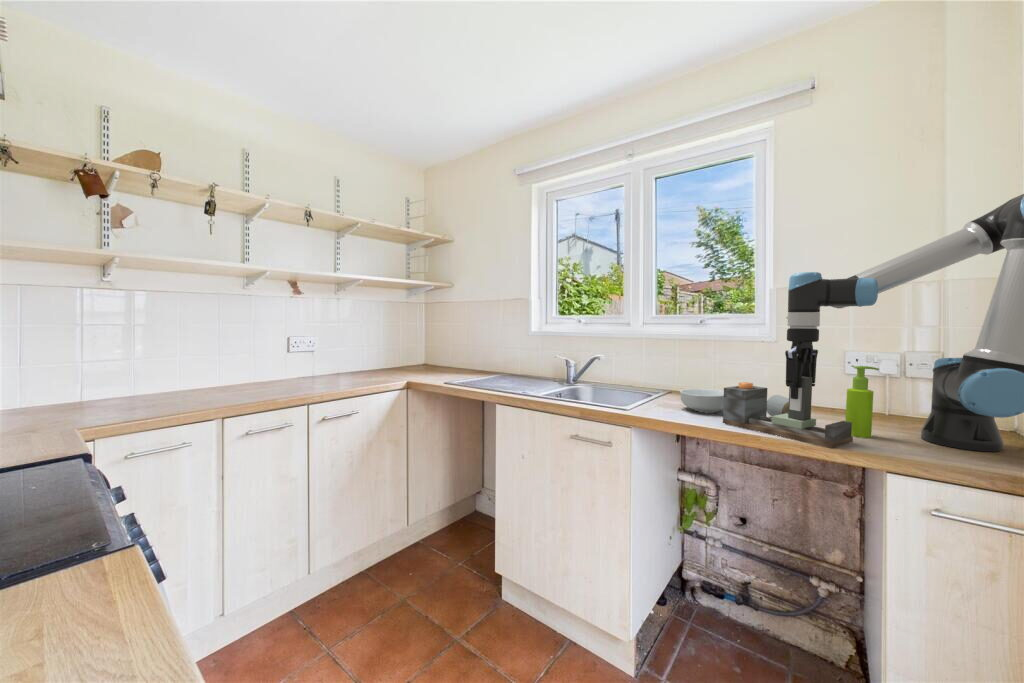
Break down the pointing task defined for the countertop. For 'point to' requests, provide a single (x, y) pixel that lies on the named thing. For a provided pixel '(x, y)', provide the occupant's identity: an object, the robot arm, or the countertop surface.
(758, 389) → the rail track
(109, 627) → the countertop surface
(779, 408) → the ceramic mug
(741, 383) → the button
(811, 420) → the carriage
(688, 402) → the cereal bowl
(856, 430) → the soap dispenser
